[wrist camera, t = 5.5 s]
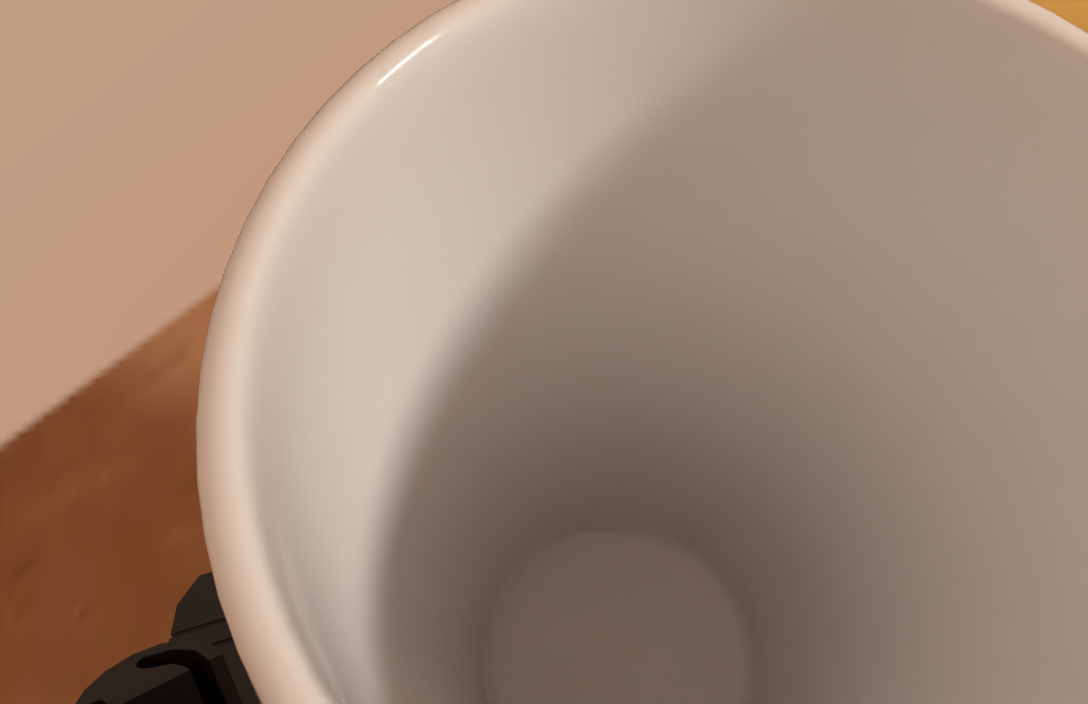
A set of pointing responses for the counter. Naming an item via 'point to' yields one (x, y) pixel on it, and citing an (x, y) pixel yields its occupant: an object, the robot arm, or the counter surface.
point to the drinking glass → (666, 363)
